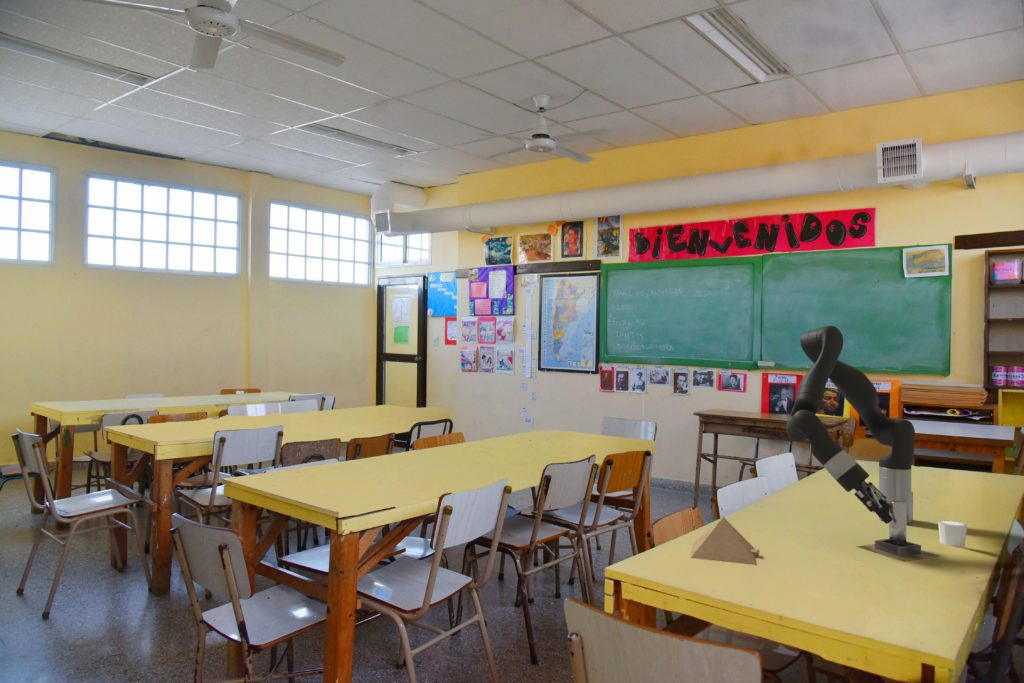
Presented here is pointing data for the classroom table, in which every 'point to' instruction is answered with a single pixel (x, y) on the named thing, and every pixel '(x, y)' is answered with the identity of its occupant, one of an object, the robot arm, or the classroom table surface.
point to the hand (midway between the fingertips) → (892, 518)
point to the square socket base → (898, 550)
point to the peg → (898, 523)
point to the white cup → (952, 533)
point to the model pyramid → (724, 545)
